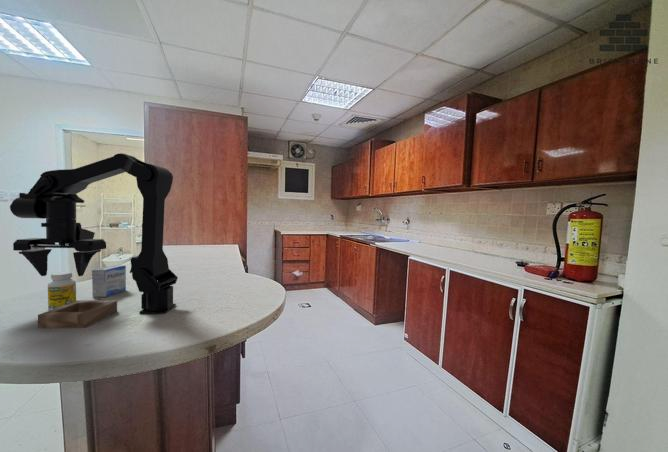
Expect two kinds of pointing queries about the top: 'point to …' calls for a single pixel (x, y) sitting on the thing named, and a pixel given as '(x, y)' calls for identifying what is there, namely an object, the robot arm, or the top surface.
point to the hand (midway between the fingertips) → (62, 275)
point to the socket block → (77, 314)
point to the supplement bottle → (61, 290)
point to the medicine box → (108, 280)
